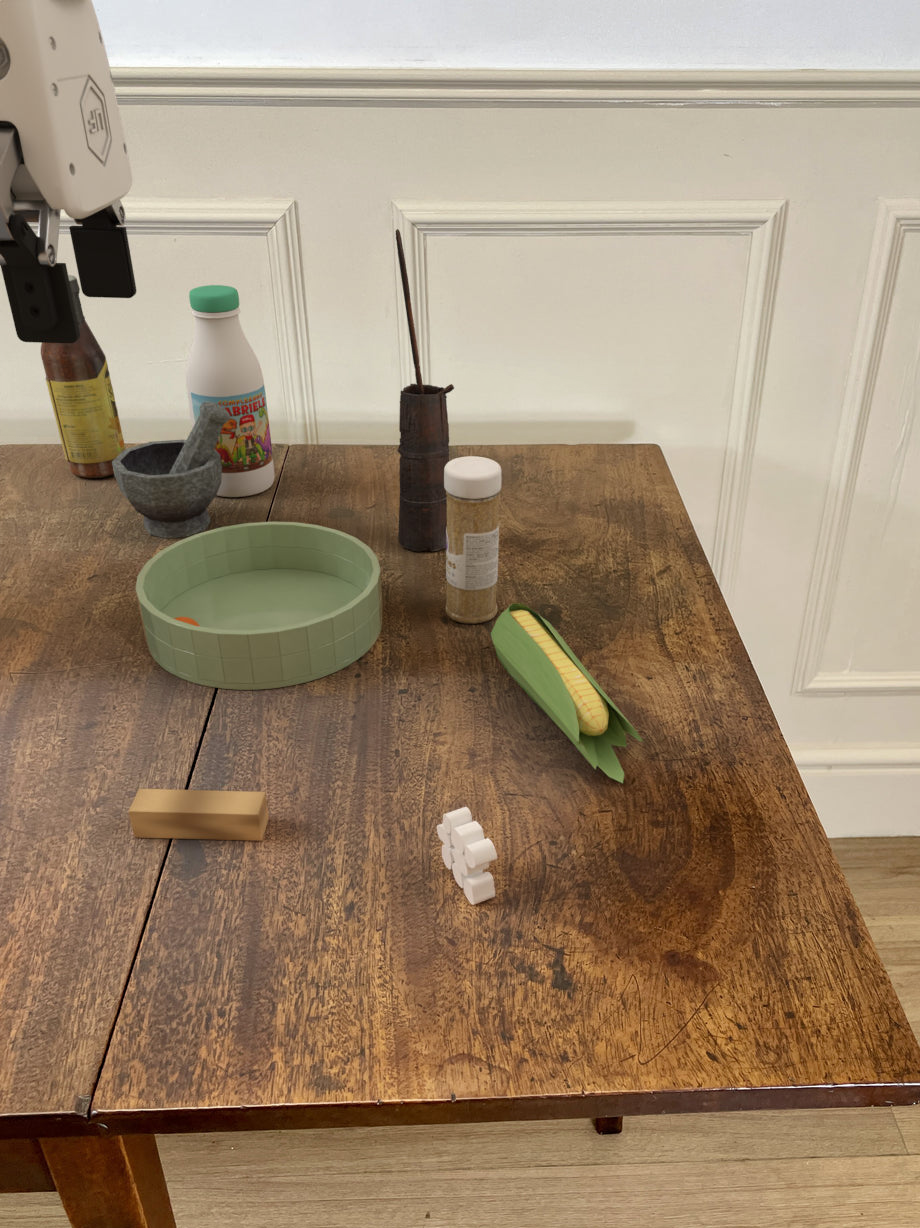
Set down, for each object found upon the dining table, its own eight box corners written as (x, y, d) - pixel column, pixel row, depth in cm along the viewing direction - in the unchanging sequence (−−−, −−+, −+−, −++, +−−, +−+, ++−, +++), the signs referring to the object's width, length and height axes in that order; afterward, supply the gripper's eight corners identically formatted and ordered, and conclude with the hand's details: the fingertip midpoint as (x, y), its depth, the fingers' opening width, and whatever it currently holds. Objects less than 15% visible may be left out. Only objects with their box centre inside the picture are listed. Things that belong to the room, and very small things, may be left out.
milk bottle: (185, 487, 110) (154, 290, 99) (240, 465, 115) (216, 276, 104) (236, 505, 106) (209, 303, 95) (290, 482, 112) (271, 288, 100)
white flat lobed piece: (496, 901, 61) (497, 845, 59) (474, 909, 61) (475, 853, 58) (458, 849, 65) (457, 794, 62) (437, 857, 64) (436, 802, 62)
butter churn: (492, 524, 104) (497, 223, 89) (473, 566, 96) (475, 245, 81) (403, 515, 105) (393, 217, 90) (377, 556, 98) (361, 238, 82)
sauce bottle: (139, 470, 113) (104, 279, 102) (85, 486, 109) (43, 289, 98) (109, 453, 117) (72, 268, 106) (56, 468, 113) (11, 277, 102)
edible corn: (534, 637, 86) (537, 589, 84) (655, 779, 71) (663, 725, 68) (477, 649, 84) (477, 600, 82) (588, 797, 69) (593, 743, 67)
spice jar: (440, 602, 90) (438, 456, 83) (491, 597, 92) (493, 452, 84) (451, 629, 87) (450, 478, 79) (504, 623, 88) (508, 473, 80)
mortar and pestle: (122, 550, 97) (97, 426, 91) (127, 509, 105) (104, 391, 98) (245, 539, 100) (230, 418, 93) (241, 500, 107) (226, 385, 101)
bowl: (113, 686, 79) (101, 630, 76) (183, 568, 95) (174, 518, 92) (367, 693, 79) (363, 637, 76) (393, 574, 95) (391, 524, 92)
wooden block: (269, 817, 67) (265, 791, 66) (262, 841, 65) (258, 814, 64) (145, 814, 67) (138, 788, 65) (134, 837, 65) (127, 811, 64)
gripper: (14, -46, 43) (95, 364, 53) (141, -37, 58) (187, 284, 67) (-166, -51, 43) (-52, 360, 53) (6, -42, 58) (71, 280, 67)
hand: (82, 317), depth 60 cm, fingers open, 9 cm apart
